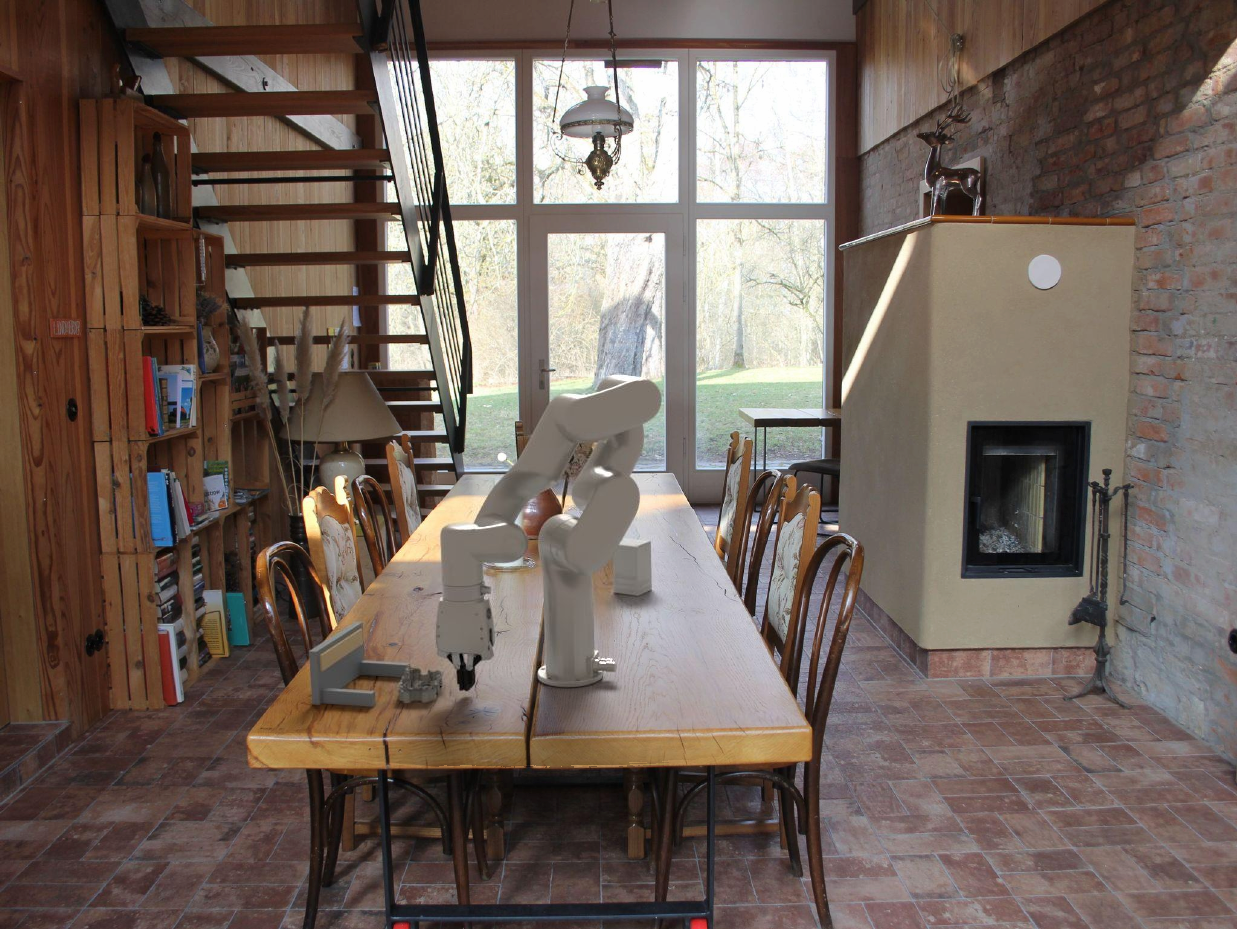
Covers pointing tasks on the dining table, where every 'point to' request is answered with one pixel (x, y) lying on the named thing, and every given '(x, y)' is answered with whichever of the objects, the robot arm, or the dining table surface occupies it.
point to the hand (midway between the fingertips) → (466, 688)
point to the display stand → (346, 669)
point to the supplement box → (632, 567)
